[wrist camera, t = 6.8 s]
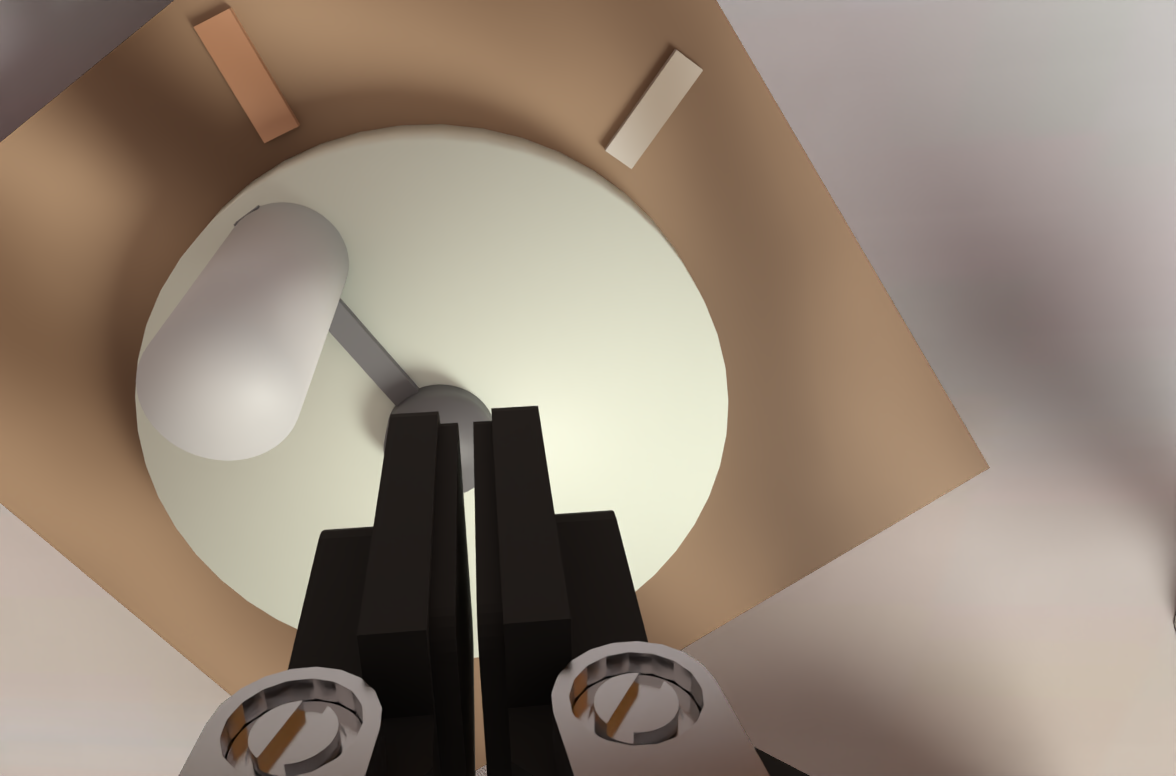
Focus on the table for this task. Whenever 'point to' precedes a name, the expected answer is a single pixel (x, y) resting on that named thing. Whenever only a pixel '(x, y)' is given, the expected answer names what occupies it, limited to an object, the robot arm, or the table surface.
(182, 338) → the dial
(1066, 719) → the table surface
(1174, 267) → the table surface
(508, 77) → the dial base
